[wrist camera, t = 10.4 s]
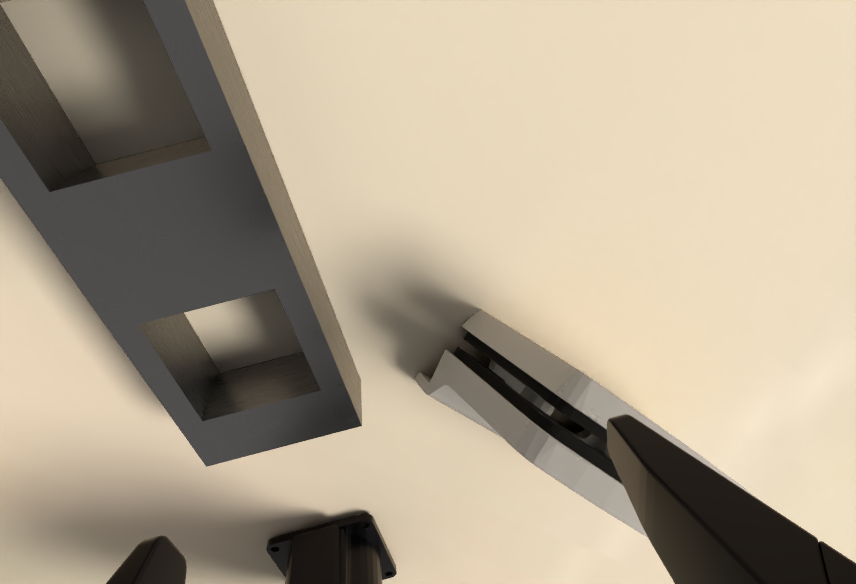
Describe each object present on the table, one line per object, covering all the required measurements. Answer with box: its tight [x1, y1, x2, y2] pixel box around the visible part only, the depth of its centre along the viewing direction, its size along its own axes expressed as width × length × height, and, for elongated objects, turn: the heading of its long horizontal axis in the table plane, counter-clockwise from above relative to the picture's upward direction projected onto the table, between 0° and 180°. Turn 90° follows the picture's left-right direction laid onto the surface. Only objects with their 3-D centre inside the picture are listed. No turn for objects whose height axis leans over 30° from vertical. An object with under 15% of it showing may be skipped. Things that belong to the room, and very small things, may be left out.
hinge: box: [415, 310, 756, 537], centre depth 23 cm, size 17×5×10 cm, turn 49°
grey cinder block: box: [0, 0, 362, 467], centre depth 17 cm, size 20×7×3 cm, turn 12°
